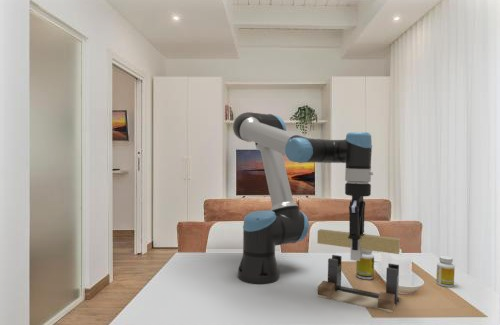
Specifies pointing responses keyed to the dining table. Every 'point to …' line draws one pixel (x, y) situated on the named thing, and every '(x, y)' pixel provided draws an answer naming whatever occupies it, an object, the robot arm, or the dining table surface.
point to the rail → (365, 243)
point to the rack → (391, 287)
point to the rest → (357, 297)
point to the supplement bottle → (445, 272)
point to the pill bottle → (365, 265)
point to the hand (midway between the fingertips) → (356, 258)
